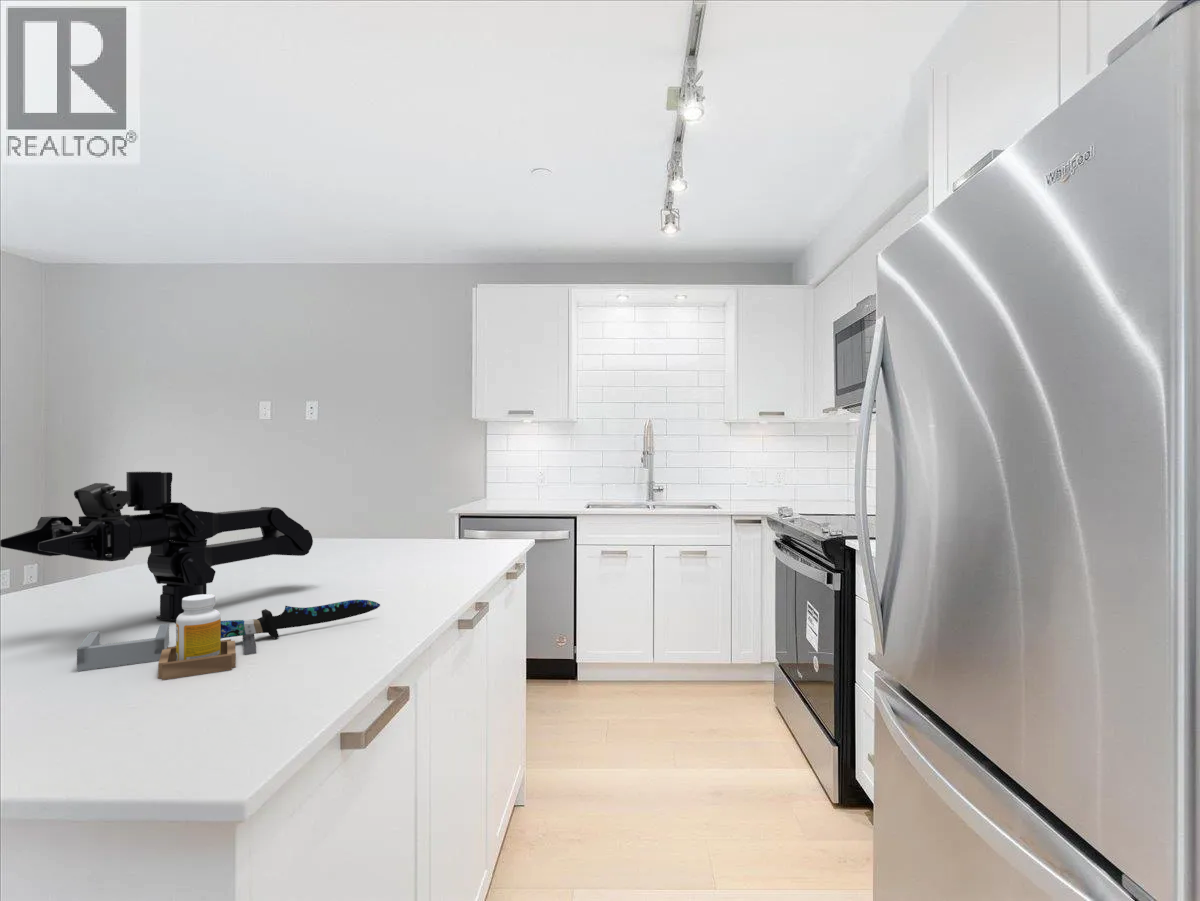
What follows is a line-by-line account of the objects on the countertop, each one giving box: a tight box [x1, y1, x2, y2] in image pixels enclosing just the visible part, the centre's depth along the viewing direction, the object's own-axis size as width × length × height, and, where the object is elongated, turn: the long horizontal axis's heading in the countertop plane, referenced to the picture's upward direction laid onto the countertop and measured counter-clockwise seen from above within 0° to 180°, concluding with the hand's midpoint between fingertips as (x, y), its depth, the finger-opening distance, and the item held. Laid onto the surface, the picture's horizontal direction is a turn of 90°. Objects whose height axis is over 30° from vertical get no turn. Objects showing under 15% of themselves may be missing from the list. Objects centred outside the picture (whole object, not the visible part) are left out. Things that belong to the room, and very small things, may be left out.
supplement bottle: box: [175, 593, 222, 661], centre depth 92 cm, size 5×5×10 cm
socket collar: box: [157, 639, 237, 681], centre depth 92 cm, size 9×9×2 cm
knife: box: [221, 599, 381, 640], centre depth 108 cm, size 31×3×4 cm, turn 131°
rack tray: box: [76, 623, 170, 672], centre depth 96 cm, size 10×10×3 cm
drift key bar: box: [242, 634, 257, 655], centre depth 101 cm, size 8×2×1 cm, turn 30°
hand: (19, 544), depth 95 cm, fingers open, 9 cm apart
